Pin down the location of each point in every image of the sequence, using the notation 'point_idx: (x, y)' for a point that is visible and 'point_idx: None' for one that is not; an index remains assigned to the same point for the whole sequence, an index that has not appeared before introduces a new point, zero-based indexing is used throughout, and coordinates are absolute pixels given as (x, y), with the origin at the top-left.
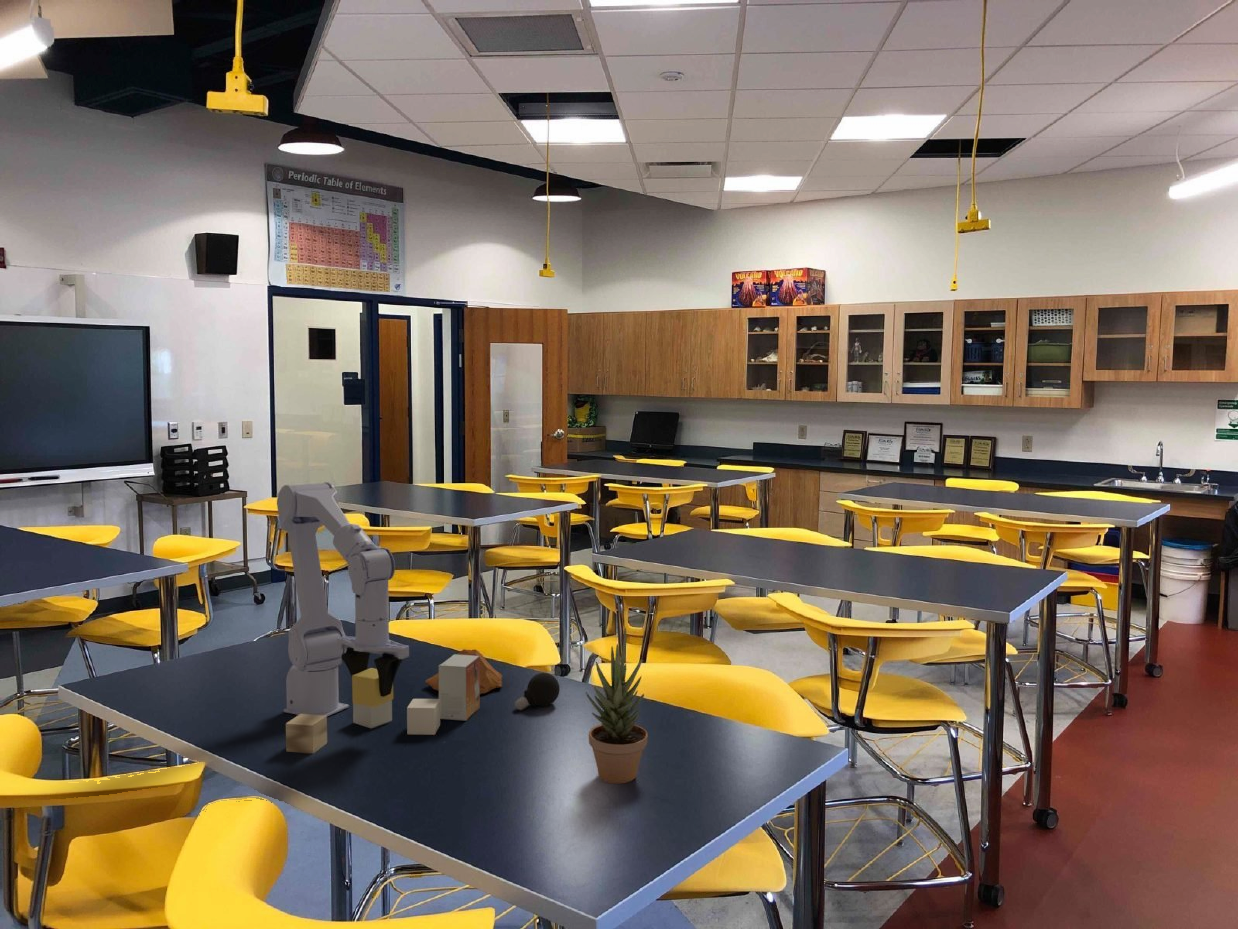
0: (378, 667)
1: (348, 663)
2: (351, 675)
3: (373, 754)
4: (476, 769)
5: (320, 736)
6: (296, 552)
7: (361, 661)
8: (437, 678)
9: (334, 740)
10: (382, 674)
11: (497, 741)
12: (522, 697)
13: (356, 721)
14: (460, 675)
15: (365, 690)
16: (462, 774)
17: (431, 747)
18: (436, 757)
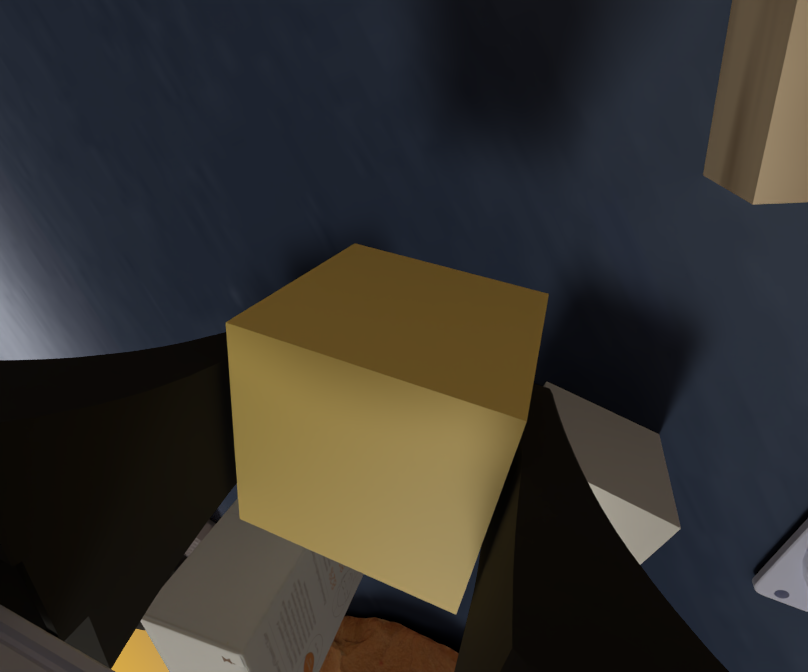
0: (71, 390)
1: (602, 594)
2: (575, 474)
3: (393, 101)
4: (24, 93)
5: (737, 88)
6: None
7: (468, 653)
8: None
9: (671, 218)
10: (132, 359)
11: (124, 324)
12: (188, 552)
13: (639, 430)
14: (184, 586)
15: (389, 302)
16: (22, 29)
17: (241, 240)
18: (174, 154)
